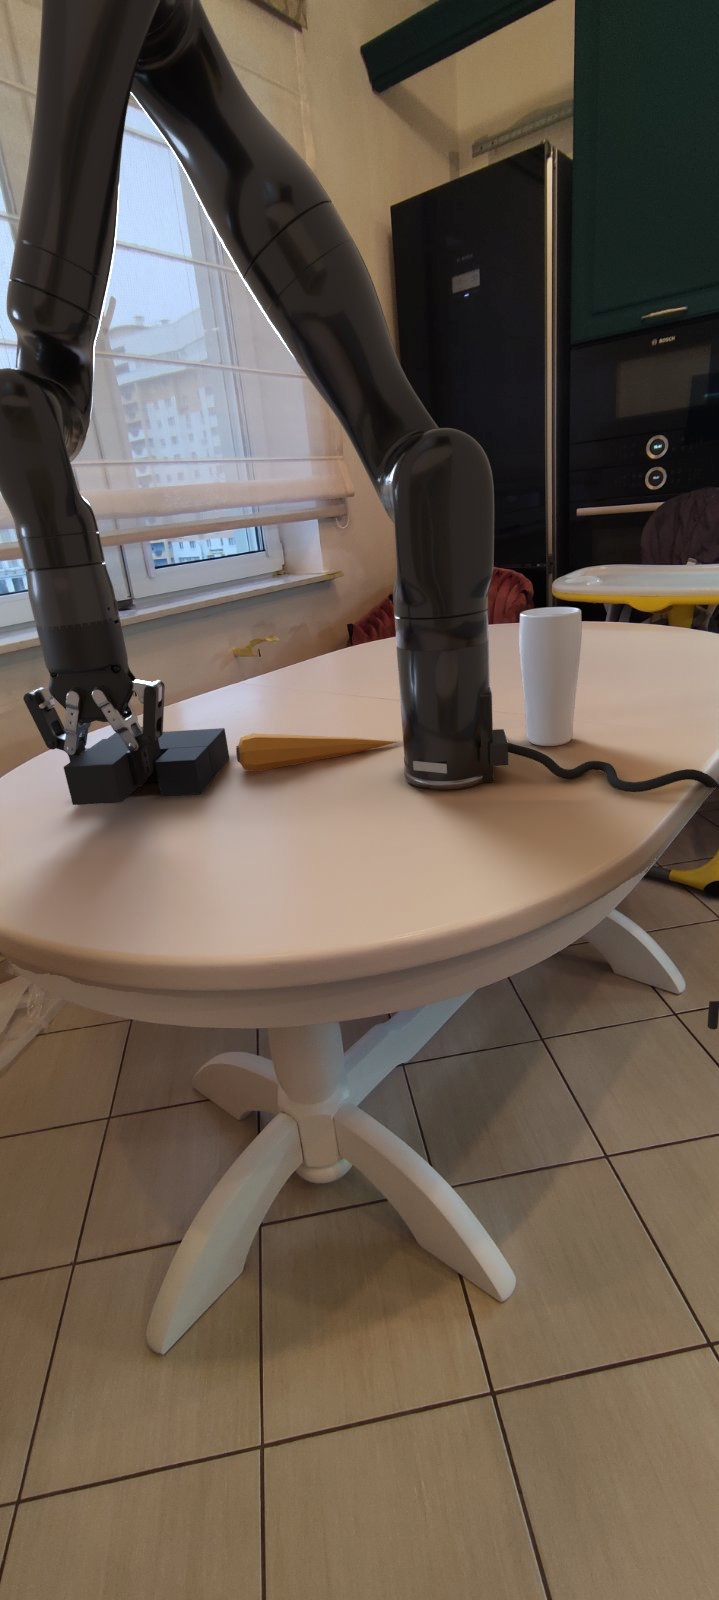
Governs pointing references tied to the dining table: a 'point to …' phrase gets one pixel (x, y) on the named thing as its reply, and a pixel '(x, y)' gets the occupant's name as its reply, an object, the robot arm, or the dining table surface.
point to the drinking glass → (550, 672)
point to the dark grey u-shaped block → (189, 760)
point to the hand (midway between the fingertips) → (115, 783)
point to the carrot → (296, 749)
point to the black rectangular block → (104, 772)
